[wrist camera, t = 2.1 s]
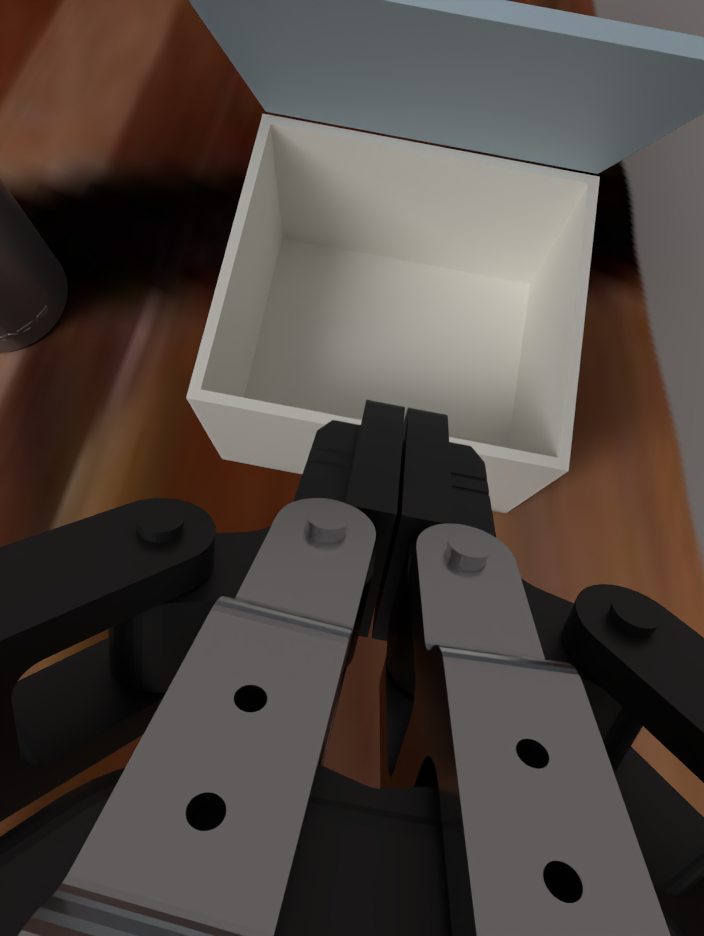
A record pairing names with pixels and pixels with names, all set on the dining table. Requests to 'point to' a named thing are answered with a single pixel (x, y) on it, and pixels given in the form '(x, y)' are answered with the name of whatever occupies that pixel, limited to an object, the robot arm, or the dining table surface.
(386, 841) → the robot arm
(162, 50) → the dining table surface
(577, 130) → the lid flap
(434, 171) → the carton
